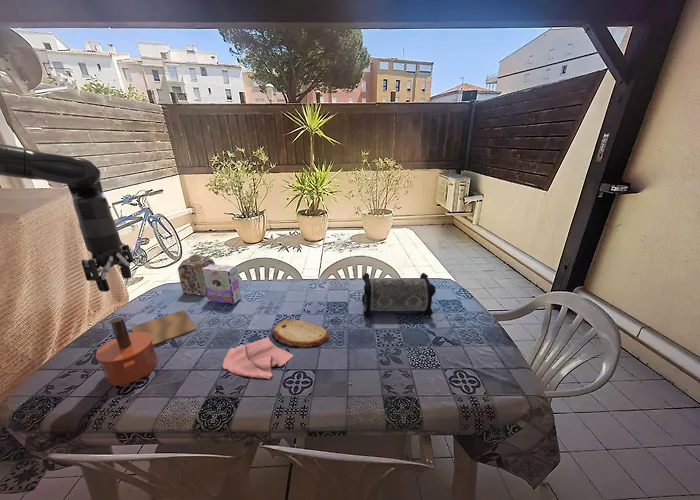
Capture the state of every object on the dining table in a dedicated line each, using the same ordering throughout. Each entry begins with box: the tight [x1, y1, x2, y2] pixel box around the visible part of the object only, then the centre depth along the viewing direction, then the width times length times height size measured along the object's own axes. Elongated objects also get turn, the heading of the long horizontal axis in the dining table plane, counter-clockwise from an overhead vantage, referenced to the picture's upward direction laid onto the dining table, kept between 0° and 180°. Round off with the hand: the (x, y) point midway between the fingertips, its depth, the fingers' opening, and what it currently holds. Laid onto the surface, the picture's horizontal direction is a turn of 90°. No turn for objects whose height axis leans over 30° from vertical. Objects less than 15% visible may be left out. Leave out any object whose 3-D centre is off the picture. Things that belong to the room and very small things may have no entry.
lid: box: [95, 316, 153, 363], centre depth 80 cm, size 13×13×10 cm
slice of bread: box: [271, 318, 330, 348], centre depth 100 cm, size 18×18×4 cm
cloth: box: [221, 336, 295, 380], centre depth 88 cm, size 20×22×2 cm
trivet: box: [131, 309, 197, 347], centre depth 104 cm, size 18×18×1 cm
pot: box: [99, 343, 158, 386], centre depth 83 cm, size 12×18×8 cm
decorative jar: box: [177, 254, 216, 296], centre depth 131 cm, size 12×12×18 cm
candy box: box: [202, 264, 242, 305], centre depth 122 cm, size 14×6×16 cm, turn 77°
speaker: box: [361, 272, 436, 319], centre depth 115 cm, size 15×29×15 cm, turn 90°
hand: (116, 284), depth 82 cm, fingers open, 8 cm apart
